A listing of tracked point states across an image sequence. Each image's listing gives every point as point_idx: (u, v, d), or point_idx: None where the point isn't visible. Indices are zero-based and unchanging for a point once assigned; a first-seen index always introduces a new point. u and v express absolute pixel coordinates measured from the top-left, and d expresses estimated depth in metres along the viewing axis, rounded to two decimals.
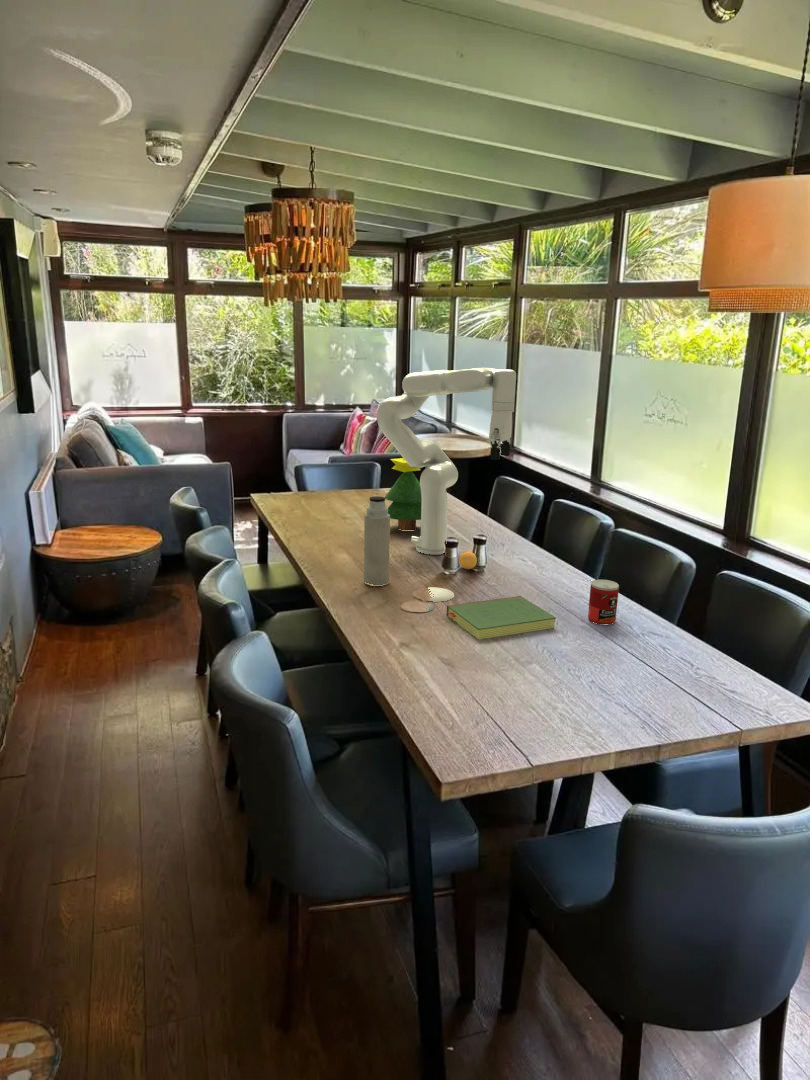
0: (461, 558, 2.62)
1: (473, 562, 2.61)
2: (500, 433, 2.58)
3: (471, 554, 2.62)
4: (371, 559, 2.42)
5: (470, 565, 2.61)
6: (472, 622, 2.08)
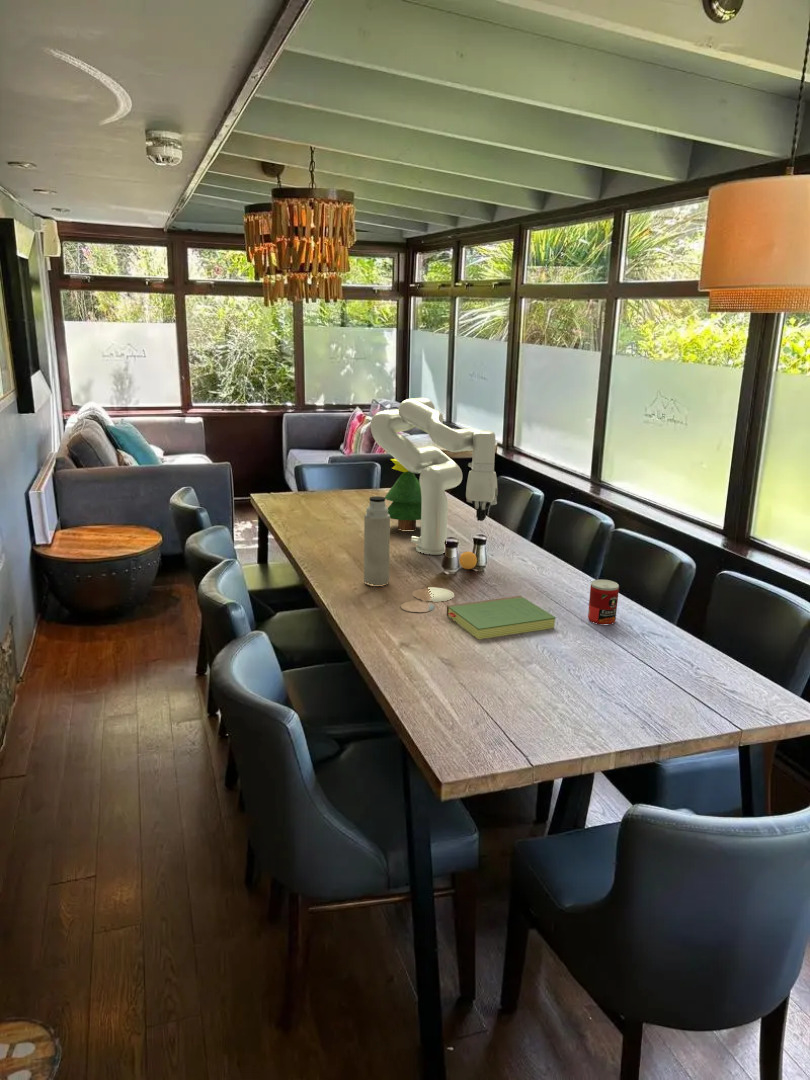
0: (461, 558, 2.62)
1: (473, 562, 2.61)
2: None
3: (471, 554, 2.62)
4: (371, 559, 2.42)
5: (470, 565, 2.61)
6: (472, 622, 2.08)
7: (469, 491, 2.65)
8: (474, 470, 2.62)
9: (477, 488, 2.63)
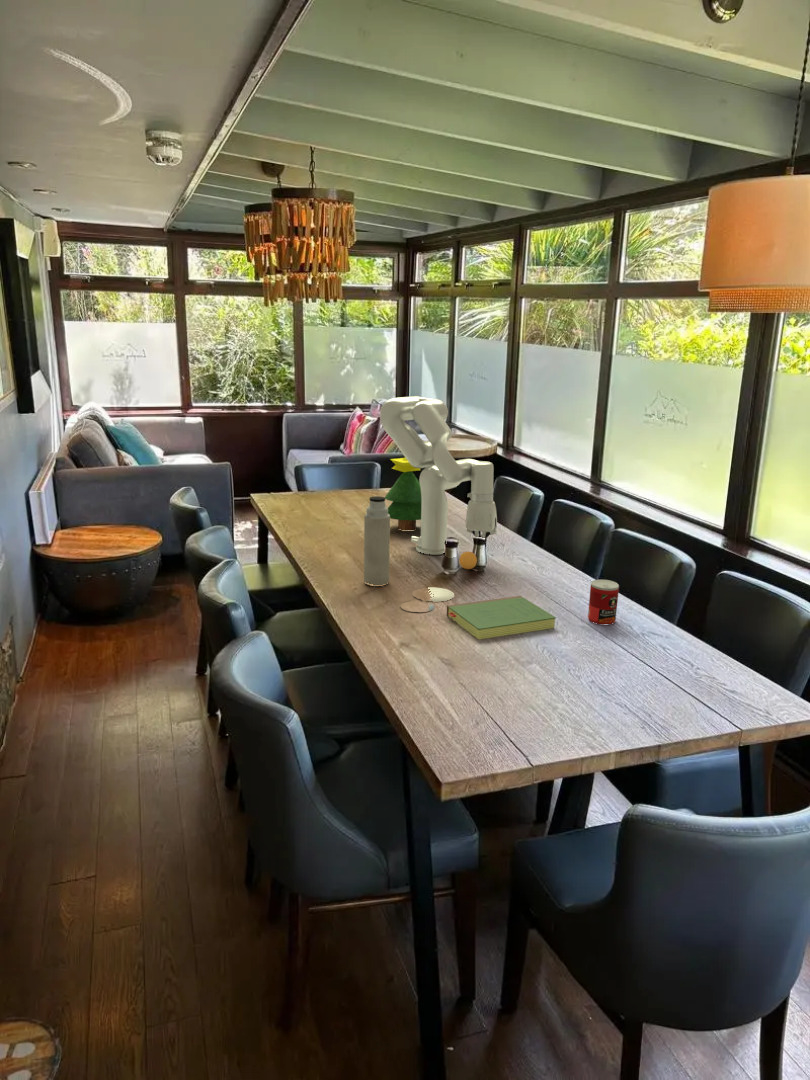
0: (461, 558, 2.62)
1: (473, 562, 2.61)
2: (496, 521, 2.67)
3: (471, 554, 2.62)
4: (371, 559, 2.42)
5: (470, 565, 2.61)
6: (472, 622, 2.08)
7: (469, 521, 2.67)
8: (473, 500, 2.64)
9: (477, 518, 2.66)
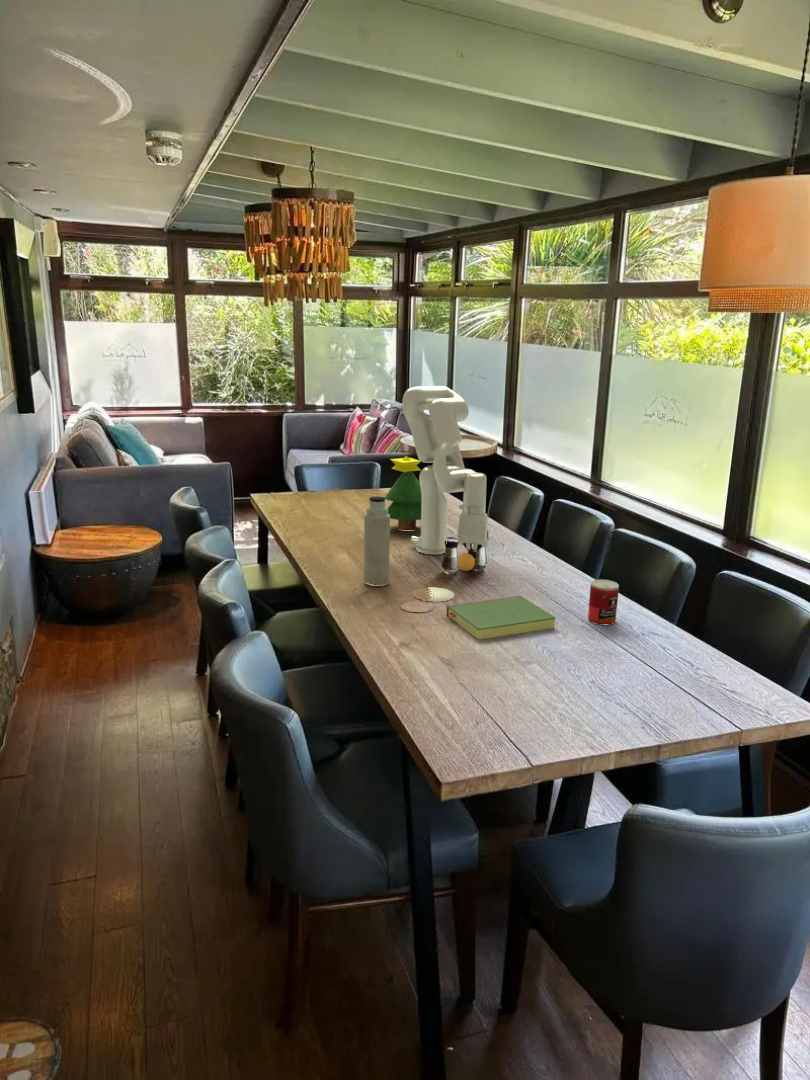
0: (458, 563, 2.60)
1: (471, 566, 2.60)
2: (488, 534, 2.63)
3: (468, 558, 2.59)
4: (371, 559, 2.42)
5: (469, 569, 2.60)
6: (472, 622, 2.08)
7: (460, 533, 2.62)
8: (465, 513, 2.59)
9: (468, 530, 2.61)
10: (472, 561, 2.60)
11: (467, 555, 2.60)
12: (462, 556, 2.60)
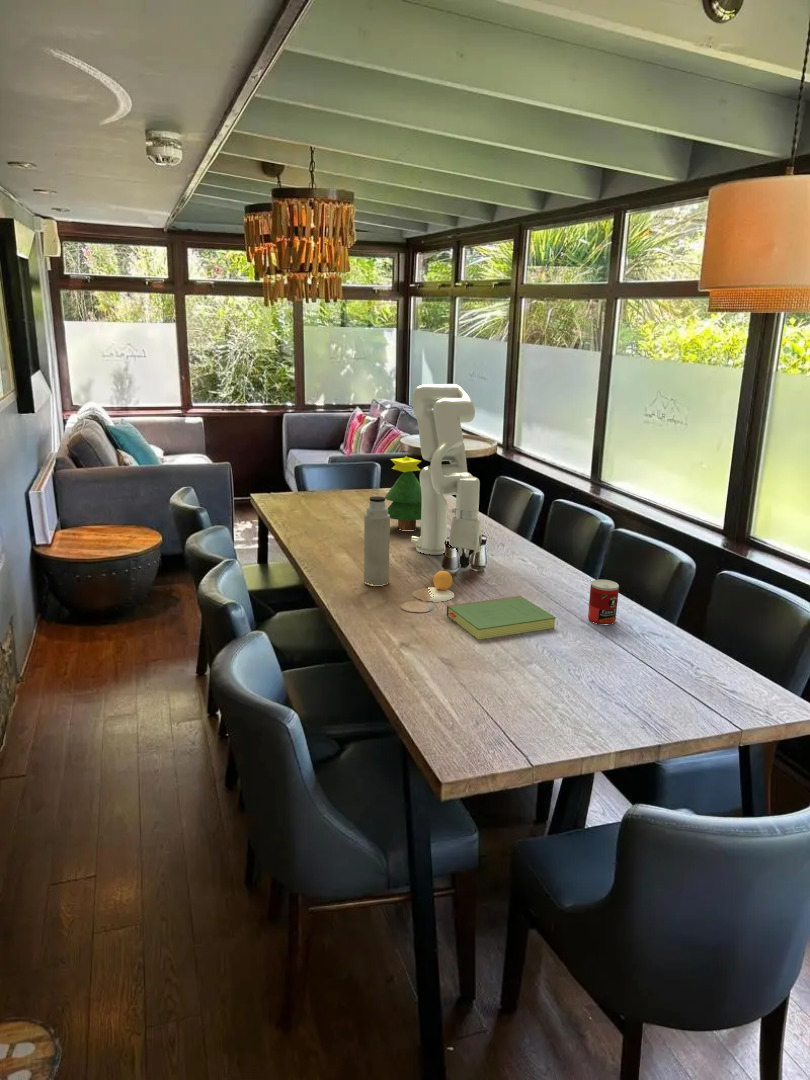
0: (436, 587, 2.43)
1: (449, 586, 2.42)
2: None
3: (443, 585, 2.40)
4: (371, 559, 2.42)
5: None
6: (472, 622, 2.08)
7: (452, 538, 2.58)
8: (457, 517, 2.55)
9: (460, 535, 2.56)
10: (449, 583, 2.40)
11: (441, 581, 2.40)
12: (437, 582, 2.40)
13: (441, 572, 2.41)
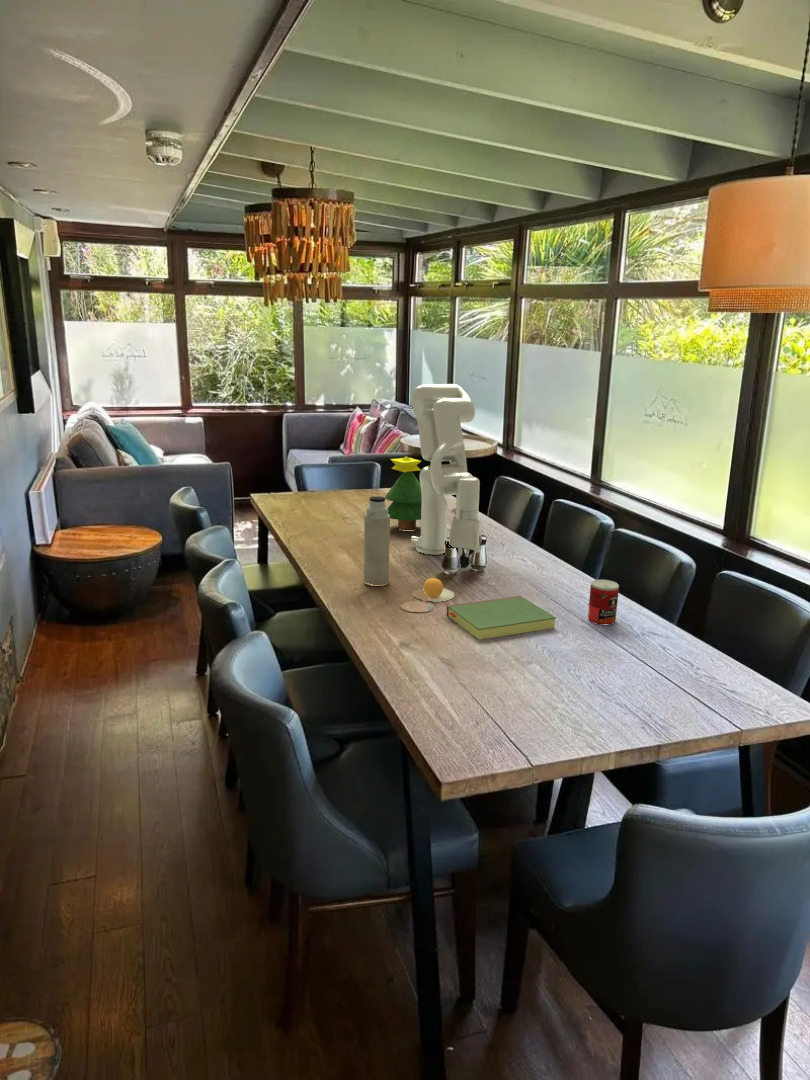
0: None
1: (441, 584, 2.35)
2: None
3: None
4: (371, 559, 2.42)
5: (438, 580, 2.34)
6: (472, 622, 2.08)
7: (452, 538, 2.58)
8: (457, 517, 2.55)
9: (460, 535, 2.56)
10: None
11: None
12: None
13: None
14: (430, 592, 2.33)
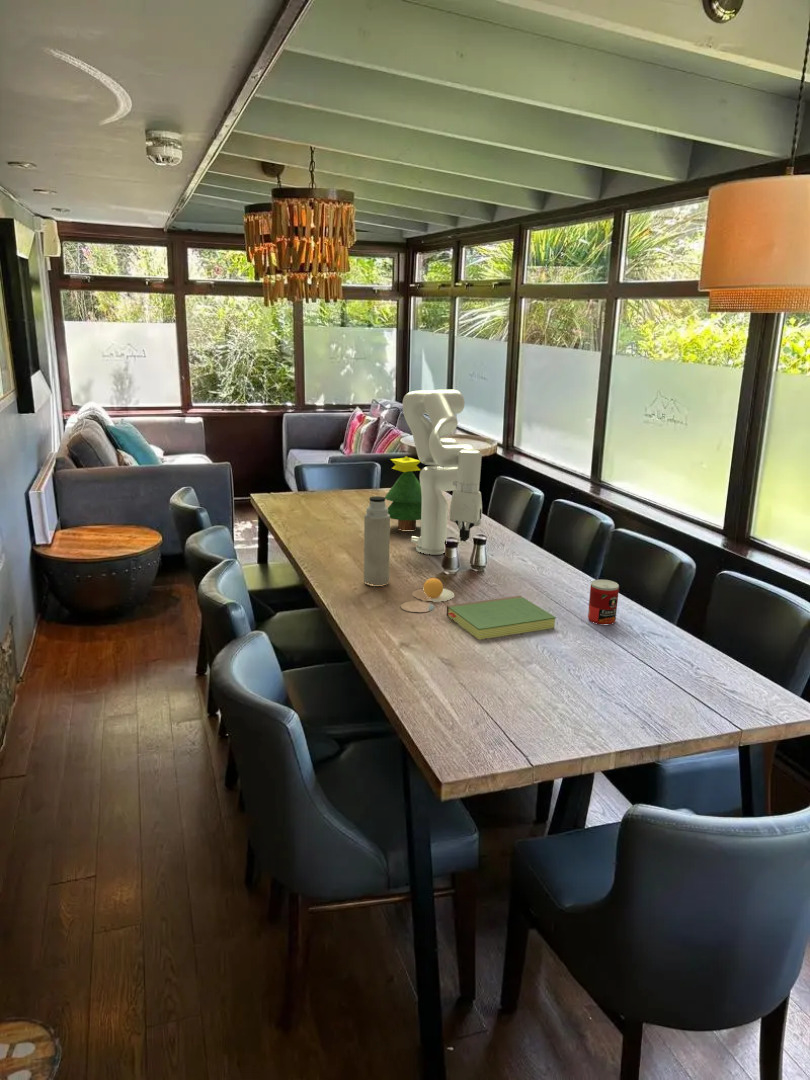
0: None
1: (441, 584, 2.35)
2: (481, 512, 2.56)
3: None
4: (371, 559, 2.42)
5: (438, 580, 2.34)
6: (472, 622, 2.08)
7: (453, 511, 2.56)
8: (458, 490, 2.53)
9: (461, 508, 2.54)
10: None
11: None
12: None
13: None
14: (430, 592, 2.33)
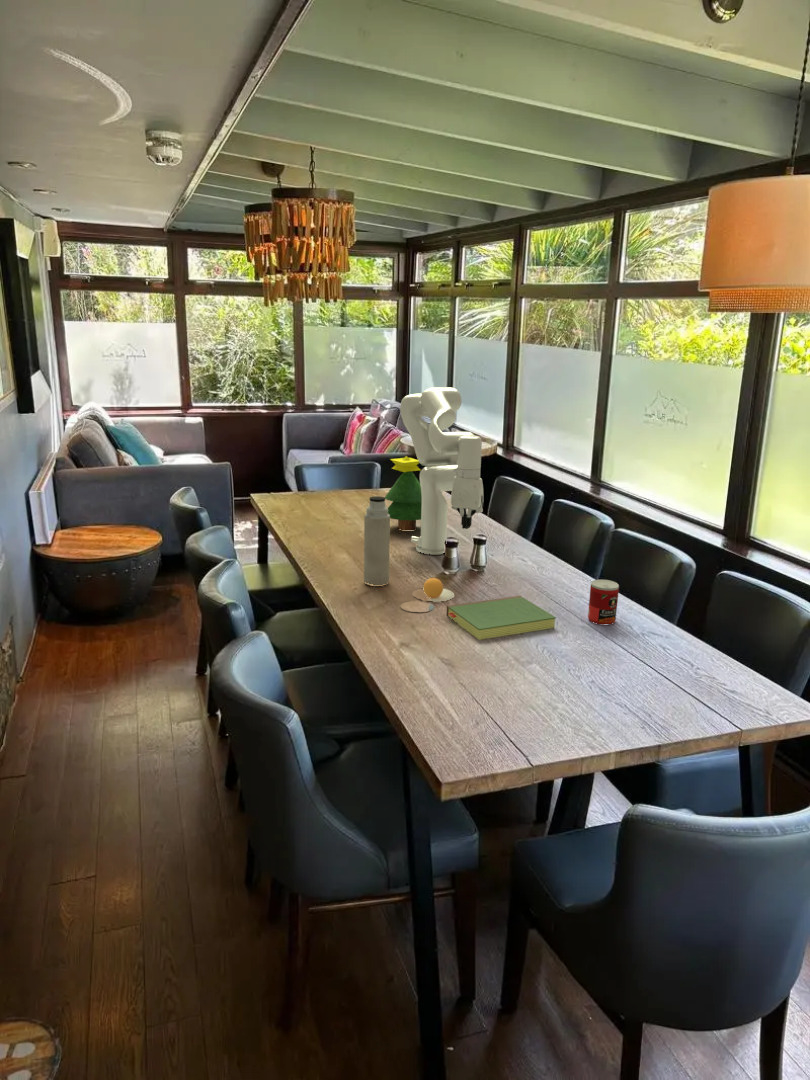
0: None
1: (441, 584, 2.35)
2: None
3: None
4: (371, 559, 2.42)
5: (438, 580, 2.34)
6: (472, 622, 2.08)
7: (454, 498, 2.54)
8: (459, 476, 2.51)
9: (462, 495, 2.53)
10: None
11: None
12: None
13: None
14: (430, 592, 2.33)
